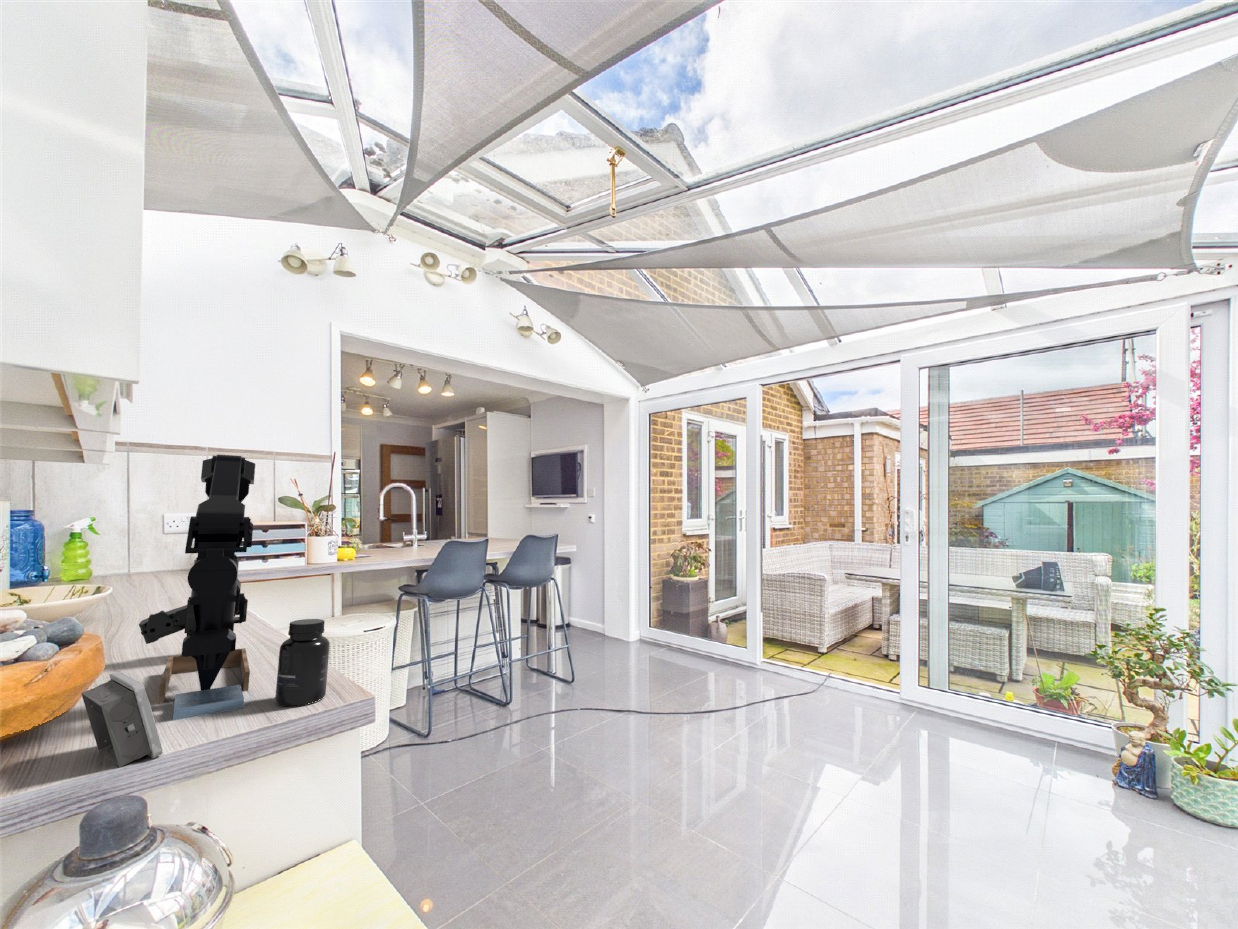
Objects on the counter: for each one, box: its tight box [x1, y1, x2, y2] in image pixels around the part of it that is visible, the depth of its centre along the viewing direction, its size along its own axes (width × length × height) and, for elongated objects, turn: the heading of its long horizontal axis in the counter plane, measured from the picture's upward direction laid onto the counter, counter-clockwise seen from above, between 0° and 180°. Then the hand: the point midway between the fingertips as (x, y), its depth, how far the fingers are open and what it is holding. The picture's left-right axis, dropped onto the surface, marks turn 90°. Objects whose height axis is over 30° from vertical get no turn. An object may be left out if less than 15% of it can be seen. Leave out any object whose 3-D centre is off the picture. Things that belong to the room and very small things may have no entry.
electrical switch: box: [80, 670, 163, 768], centre depth 63 cm, size 9×5×9 cm, turn 57°
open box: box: [157, 647, 251, 705], centre depth 91 cm, size 19×11×3 cm, turn 37°
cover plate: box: [172, 684, 245, 721], centre depth 79 cm, size 8×8×2 cm
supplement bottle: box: [274, 618, 330, 708], centre depth 83 cm, size 7×7×12 cm
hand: (205, 690), depth 82 cm, fingers closed
